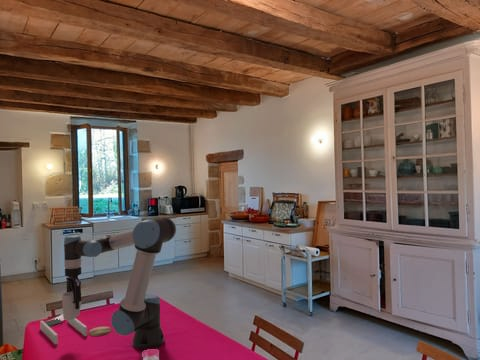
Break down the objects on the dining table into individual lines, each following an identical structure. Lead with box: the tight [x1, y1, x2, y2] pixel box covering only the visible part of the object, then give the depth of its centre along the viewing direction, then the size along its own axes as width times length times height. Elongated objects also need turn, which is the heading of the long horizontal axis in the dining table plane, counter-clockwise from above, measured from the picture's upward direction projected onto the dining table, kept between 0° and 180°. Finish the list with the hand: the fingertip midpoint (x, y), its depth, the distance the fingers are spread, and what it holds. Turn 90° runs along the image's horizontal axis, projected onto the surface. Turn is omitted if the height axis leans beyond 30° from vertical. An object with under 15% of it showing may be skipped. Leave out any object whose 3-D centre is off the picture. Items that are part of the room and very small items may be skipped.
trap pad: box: [44, 318, 64, 327], centre depth 212 cm, size 8×8×1 cm
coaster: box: [88, 326, 112, 337], centre depth 198 cm, size 11×11×1 cm
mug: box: [61, 291, 83, 321], centre depth 186 cm, size 10×7×12 cm, turn 150°
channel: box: [39, 318, 88, 345], centre depth 198 cm, size 26×15×4 cm, turn 42°
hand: (74, 313), depth 185 cm, fingers closed on mug, 6 cm apart
